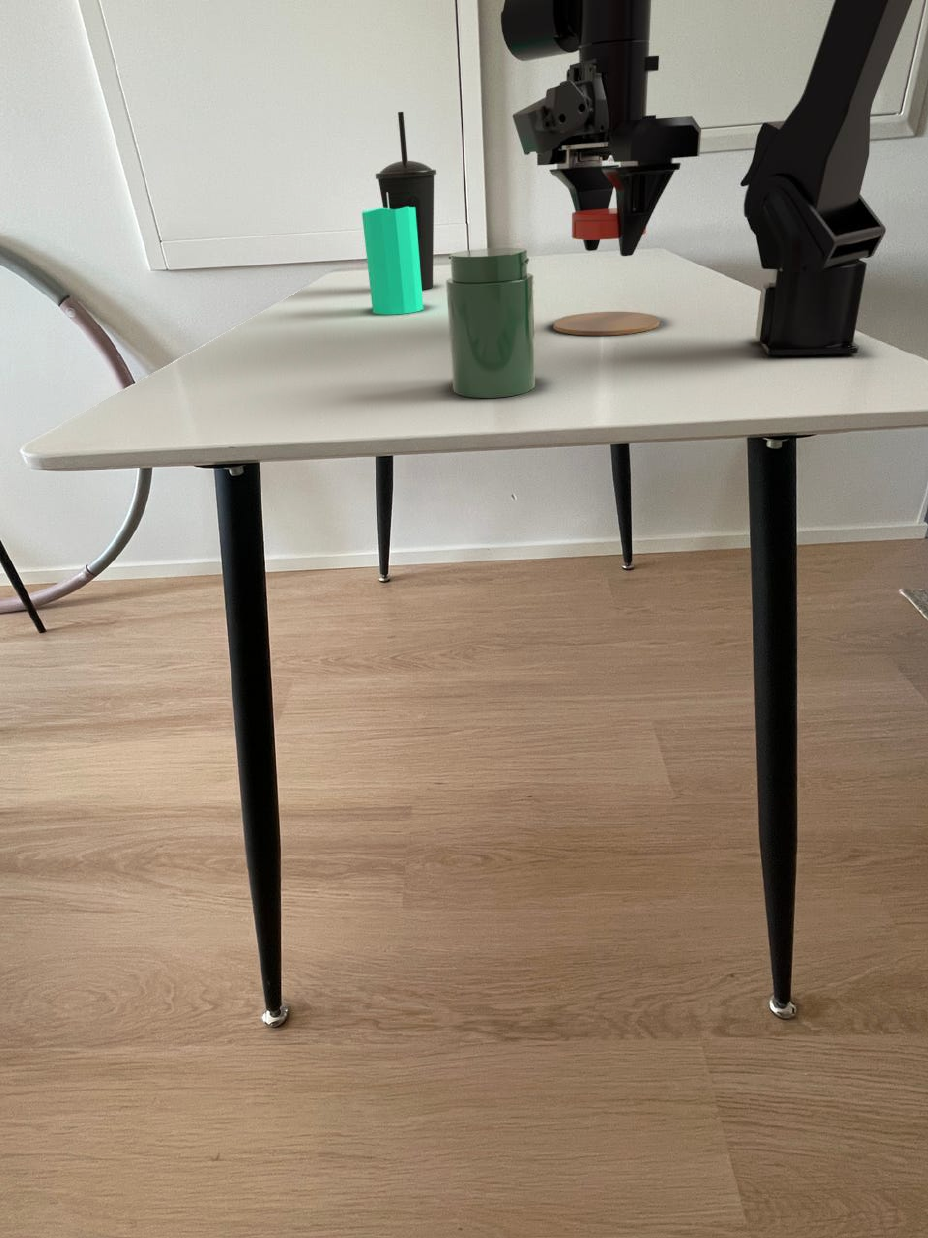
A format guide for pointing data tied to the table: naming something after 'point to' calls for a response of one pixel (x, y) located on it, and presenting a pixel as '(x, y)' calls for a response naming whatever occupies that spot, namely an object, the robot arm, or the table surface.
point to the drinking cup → (412, 200)
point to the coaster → (606, 323)
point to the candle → (393, 260)
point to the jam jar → (491, 322)
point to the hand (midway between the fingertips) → (608, 252)
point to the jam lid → (595, 224)
